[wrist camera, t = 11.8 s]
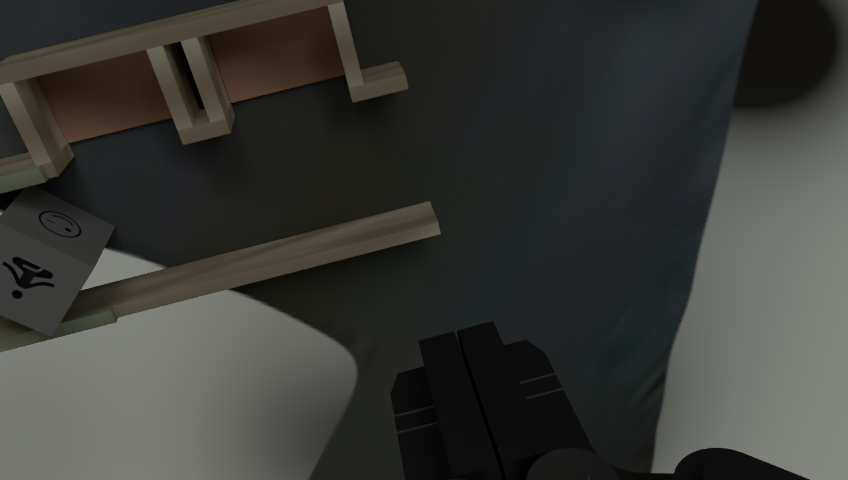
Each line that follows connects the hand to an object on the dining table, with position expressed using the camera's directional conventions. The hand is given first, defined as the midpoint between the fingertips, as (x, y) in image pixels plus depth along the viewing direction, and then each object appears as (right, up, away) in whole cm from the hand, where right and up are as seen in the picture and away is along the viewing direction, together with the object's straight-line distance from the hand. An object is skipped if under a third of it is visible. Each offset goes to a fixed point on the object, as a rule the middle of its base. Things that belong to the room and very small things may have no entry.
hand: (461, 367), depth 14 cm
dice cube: (-22, +3, +28) cm, 36 cm away
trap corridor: (-15, +7, +27) cm, 31 cm away
